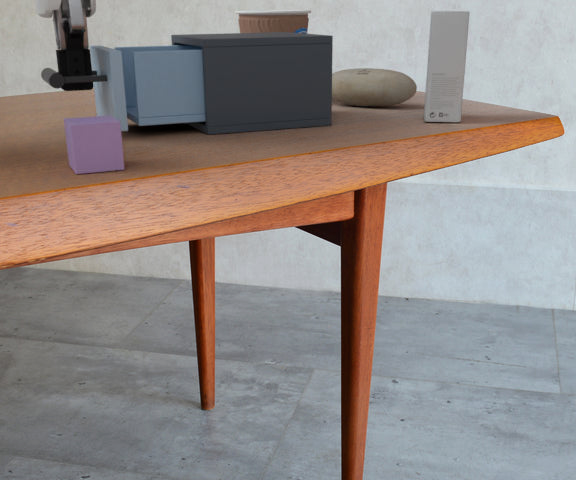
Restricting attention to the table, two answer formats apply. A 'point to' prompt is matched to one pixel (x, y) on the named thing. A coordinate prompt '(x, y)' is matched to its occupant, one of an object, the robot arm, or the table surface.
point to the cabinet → (264, 80)
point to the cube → (94, 144)
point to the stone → (372, 87)
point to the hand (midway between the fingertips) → (77, 89)
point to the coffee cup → (273, 21)
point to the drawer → (144, 83)
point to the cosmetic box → (446, 66)
